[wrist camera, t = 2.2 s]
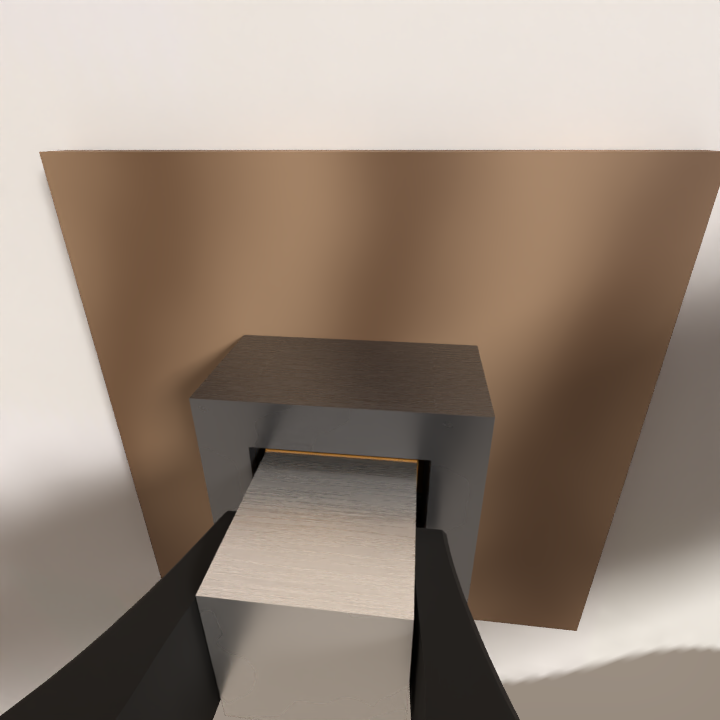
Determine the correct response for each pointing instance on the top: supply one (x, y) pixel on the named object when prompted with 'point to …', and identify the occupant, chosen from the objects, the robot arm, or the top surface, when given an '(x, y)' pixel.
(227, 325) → the base plate
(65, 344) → the top surface
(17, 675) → the top surface
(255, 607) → the post
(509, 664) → the top surface
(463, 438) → the sleeve
